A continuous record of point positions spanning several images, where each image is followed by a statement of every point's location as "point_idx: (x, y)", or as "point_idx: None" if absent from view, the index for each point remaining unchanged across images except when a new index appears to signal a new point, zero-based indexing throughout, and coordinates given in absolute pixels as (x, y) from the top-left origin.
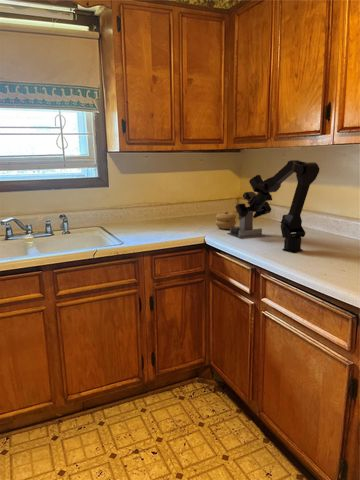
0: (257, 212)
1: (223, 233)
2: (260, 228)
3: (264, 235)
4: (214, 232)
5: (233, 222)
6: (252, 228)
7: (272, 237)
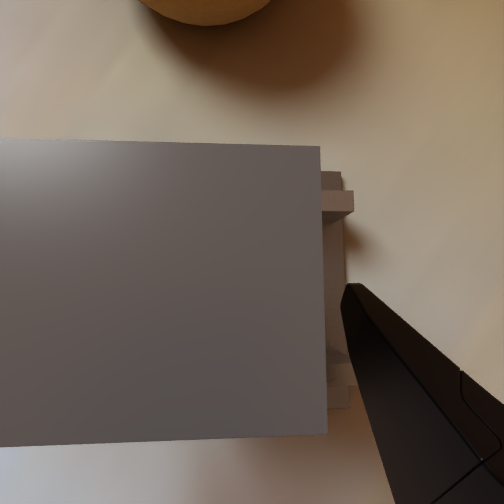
0: (419, 440)
1: (57, 136)
2: (350, 369)
3: (342, 405)
4: (6, 60)
5: None
6: (339, 217)
7: (370, 494)
